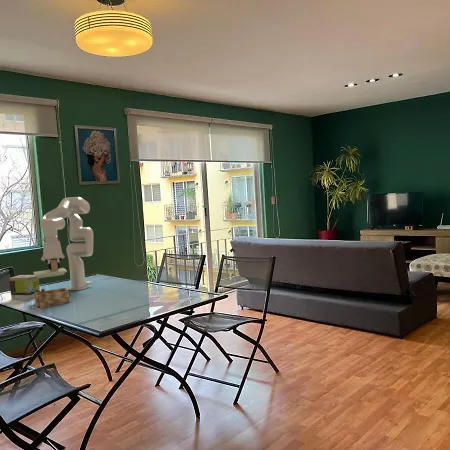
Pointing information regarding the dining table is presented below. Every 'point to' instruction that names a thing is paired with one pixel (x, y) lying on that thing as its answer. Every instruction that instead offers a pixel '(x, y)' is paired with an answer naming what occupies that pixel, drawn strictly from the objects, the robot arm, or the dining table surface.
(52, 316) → the dining table surface
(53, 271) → the lid
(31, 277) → the tea box
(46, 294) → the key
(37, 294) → the open wooden box
